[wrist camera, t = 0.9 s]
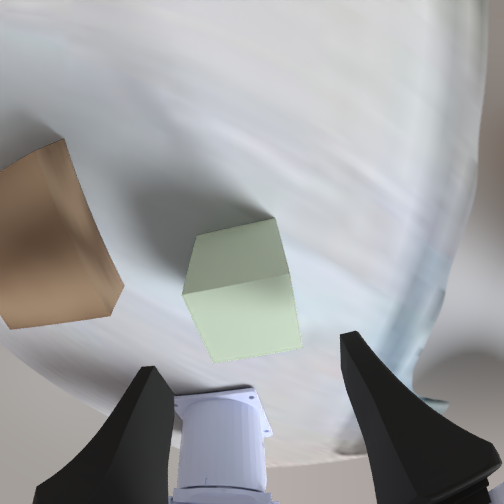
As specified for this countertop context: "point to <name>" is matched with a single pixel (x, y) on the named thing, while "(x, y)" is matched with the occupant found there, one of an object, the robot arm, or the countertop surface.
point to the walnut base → (51, 245)
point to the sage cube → (242, 293)
